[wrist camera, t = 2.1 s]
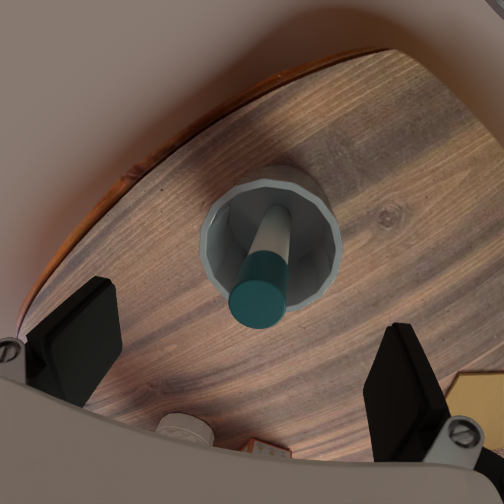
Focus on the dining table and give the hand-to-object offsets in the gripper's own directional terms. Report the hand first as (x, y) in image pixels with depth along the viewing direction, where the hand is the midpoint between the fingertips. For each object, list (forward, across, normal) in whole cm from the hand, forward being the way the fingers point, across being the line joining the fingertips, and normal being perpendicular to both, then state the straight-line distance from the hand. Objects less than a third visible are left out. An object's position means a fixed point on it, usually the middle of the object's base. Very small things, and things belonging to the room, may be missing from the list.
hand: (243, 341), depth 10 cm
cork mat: (+14, -31, +21) cm, 40 cm away
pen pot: (+14, 0, 0) cm, 15 cm away
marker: (+14, 0, 0) cm, 14 cm away
